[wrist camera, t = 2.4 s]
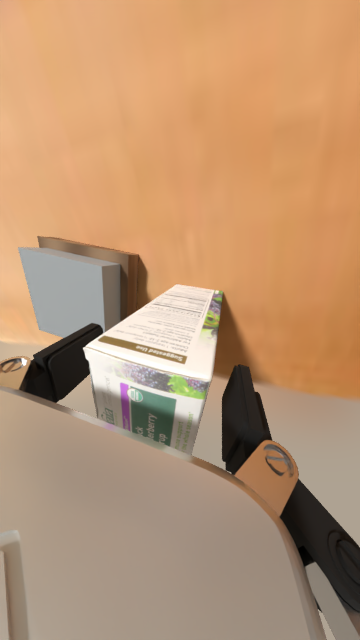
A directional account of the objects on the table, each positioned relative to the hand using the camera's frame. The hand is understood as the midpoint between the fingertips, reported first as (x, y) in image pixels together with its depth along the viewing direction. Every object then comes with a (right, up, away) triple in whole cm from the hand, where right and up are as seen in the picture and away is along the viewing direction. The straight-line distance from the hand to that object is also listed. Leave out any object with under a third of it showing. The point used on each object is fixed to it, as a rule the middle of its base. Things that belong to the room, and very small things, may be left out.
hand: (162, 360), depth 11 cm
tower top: (-11, +6, +10) cm, 16 cm away
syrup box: (+3, +4, +9) cm, 11 cm away
